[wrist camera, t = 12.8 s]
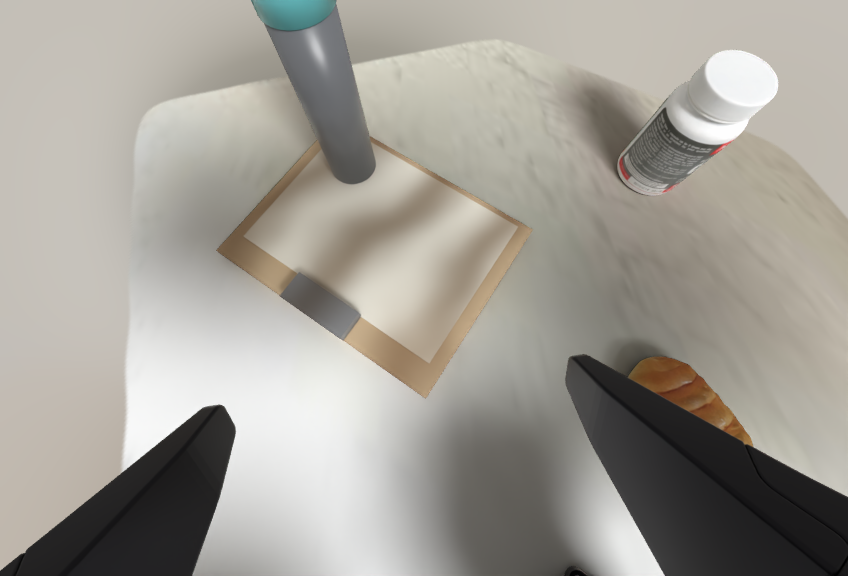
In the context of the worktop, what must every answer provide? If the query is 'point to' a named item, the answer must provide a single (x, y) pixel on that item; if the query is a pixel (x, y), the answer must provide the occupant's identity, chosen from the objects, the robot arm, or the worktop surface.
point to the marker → (322, 80)
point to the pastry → (687, 392)
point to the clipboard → (380, 258)
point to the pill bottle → (697, 121)
